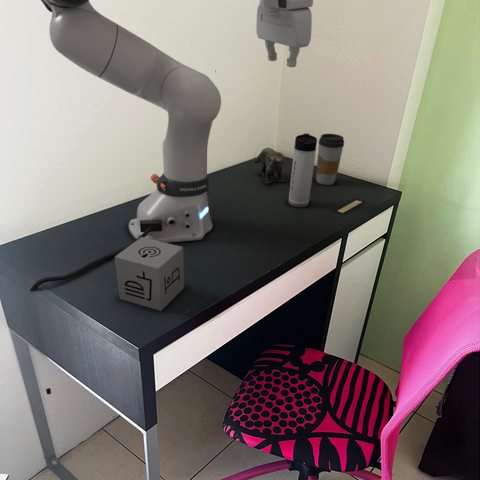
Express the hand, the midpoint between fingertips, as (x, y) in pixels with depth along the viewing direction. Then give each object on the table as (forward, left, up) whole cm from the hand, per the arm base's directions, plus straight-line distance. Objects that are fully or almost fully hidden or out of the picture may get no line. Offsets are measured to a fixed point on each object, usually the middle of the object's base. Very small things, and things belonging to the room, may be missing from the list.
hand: (281, 63), depth 119 cm
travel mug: (+12, +3, -39) cm, 41 cm away
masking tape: (+26, -5, -39) cm, 47 cm away
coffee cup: (+31, +16, -39) cm, 52 cm away
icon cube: (-45, -29, -39) cm, 67 cm away
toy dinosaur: (+14, +25, -39) cm, 48 cm away
